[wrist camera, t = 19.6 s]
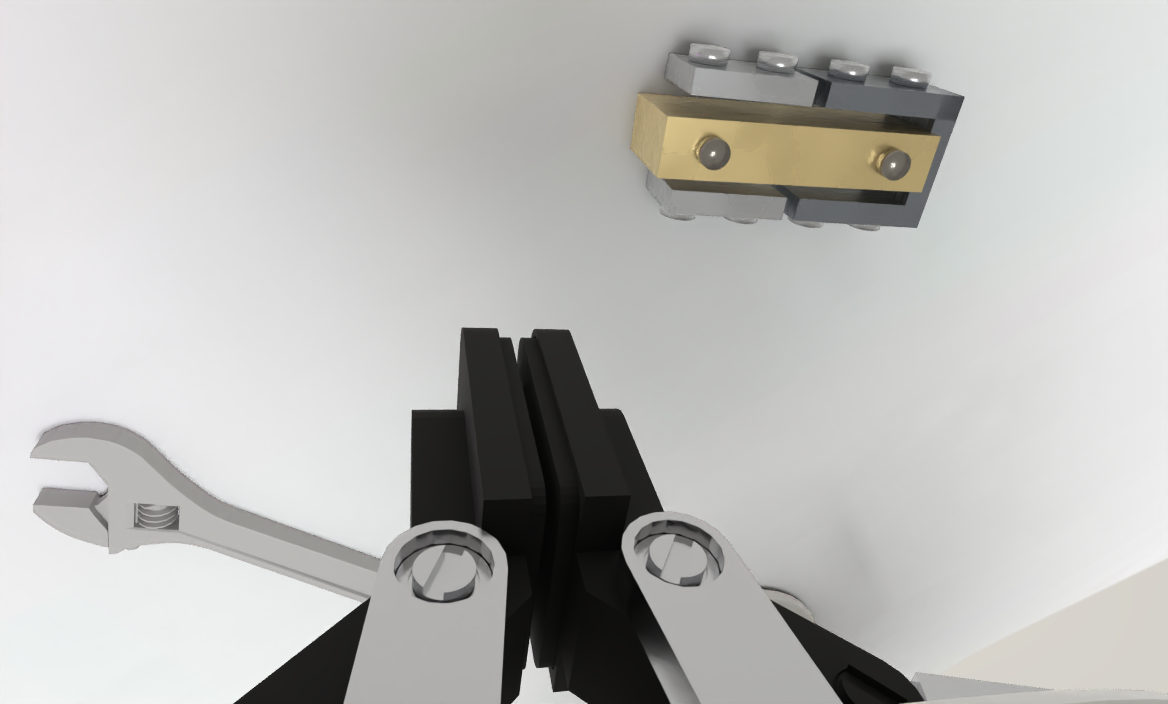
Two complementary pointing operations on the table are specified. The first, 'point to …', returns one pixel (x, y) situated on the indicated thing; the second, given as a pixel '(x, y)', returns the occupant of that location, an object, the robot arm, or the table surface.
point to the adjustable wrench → (181, 512)
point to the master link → (779, 144)
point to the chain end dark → (884, 95)
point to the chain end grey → (732, 80)
